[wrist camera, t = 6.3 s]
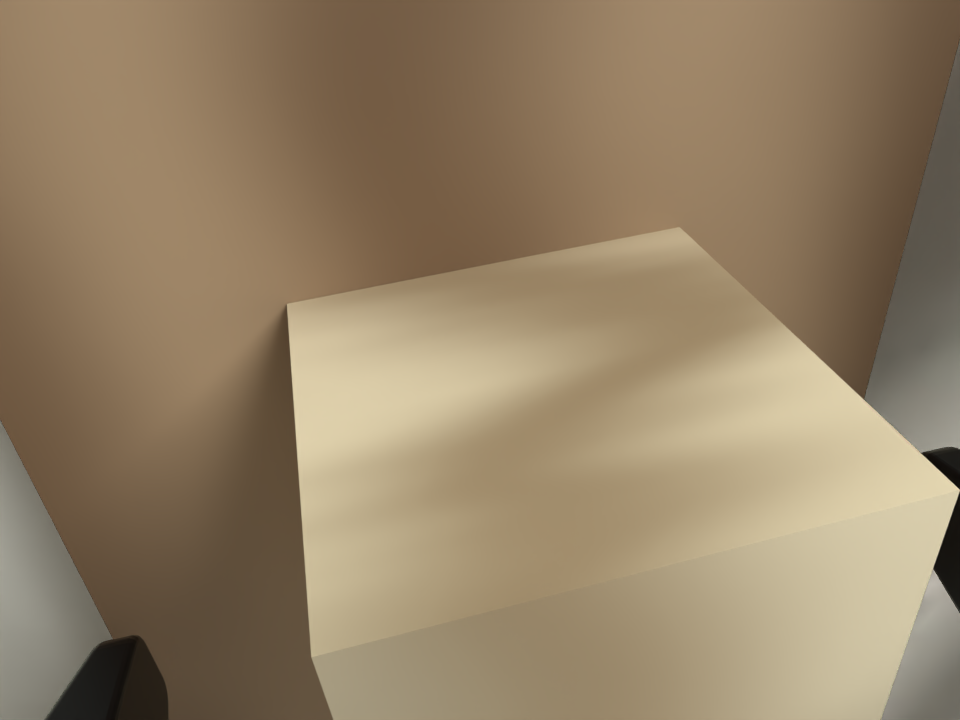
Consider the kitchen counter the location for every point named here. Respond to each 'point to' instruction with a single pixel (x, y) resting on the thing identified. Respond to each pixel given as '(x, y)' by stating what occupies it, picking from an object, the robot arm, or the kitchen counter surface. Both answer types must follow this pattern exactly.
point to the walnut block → (386, 238)
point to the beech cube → (598, 499)
